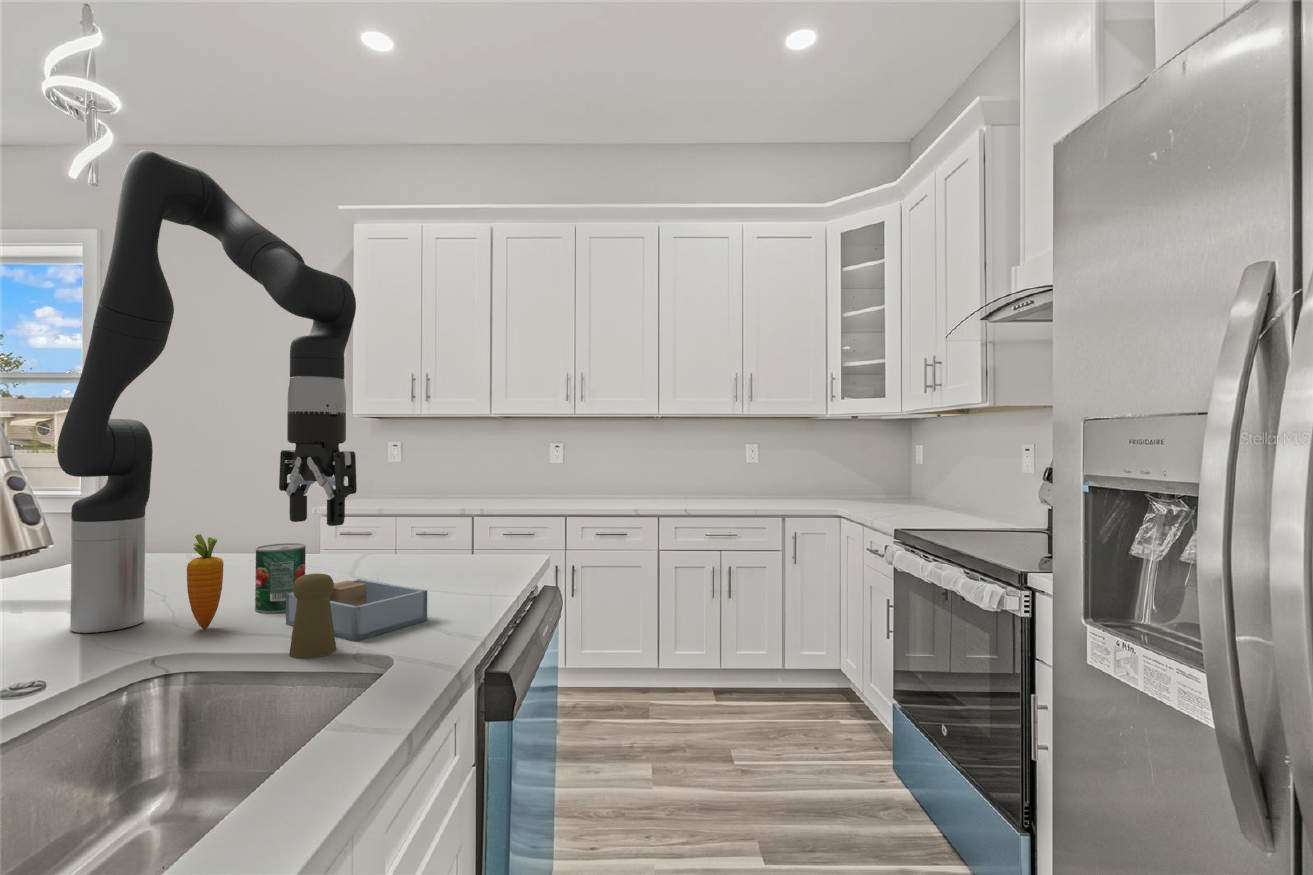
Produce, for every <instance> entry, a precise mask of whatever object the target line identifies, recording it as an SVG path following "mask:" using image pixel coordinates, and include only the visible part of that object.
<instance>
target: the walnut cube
mask: <svg viewBox="0 0 1313 875" xmlns="http://www.w3.org/2000/svg"><path fill="white" fill-rule="evenodd" d="M366 596H367V584H365V583H359V582H353V581H352V580H344V581H338V582H334V588H333V592H332V593H331V595H330V596H329V598H330V601H334V602H339V603H344V604H349V605H353V606H360V605H364V604H366Z"/></svg>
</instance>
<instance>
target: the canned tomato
mask: <svg viewBox="0 0 1313 875" xmlns="http://www.w3.org/2000/svg"><path fill="white" fill-rule="evenodd" d="M306 547H307V545H306V544H304V543H300V542H299V543H296V542H294V543H293V542H292V543H290V542H287V543H272V544H265V545H260V546H257V547H255V572H254V573H255V576H254V577H255V584H254V586H255V589H254V595H255V596H254V601H255V602H254V605H255V606H254V607H255V608H254V611H255V612H256V613H259V612H260V614H280V613H281V614H282V613H286V594H287V593H292V592H293V585H294V582H295V580H296V579H297V578H299V577H300V576H304V575H306V553H307V552H306Z"/></svg>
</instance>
